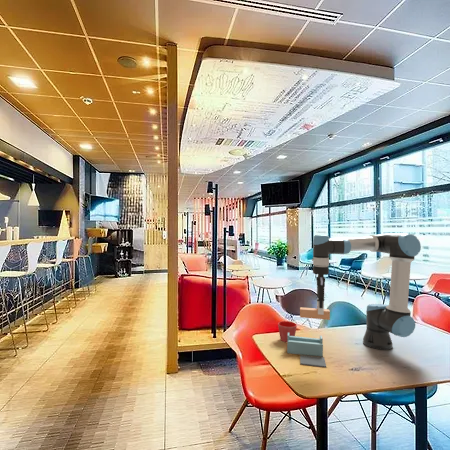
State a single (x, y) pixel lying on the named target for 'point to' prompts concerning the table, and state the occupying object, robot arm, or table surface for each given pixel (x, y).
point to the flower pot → (286, 330)
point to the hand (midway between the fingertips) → (320, 312)
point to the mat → (312, 361)
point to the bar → (314, 313)
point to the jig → (305, 346)
